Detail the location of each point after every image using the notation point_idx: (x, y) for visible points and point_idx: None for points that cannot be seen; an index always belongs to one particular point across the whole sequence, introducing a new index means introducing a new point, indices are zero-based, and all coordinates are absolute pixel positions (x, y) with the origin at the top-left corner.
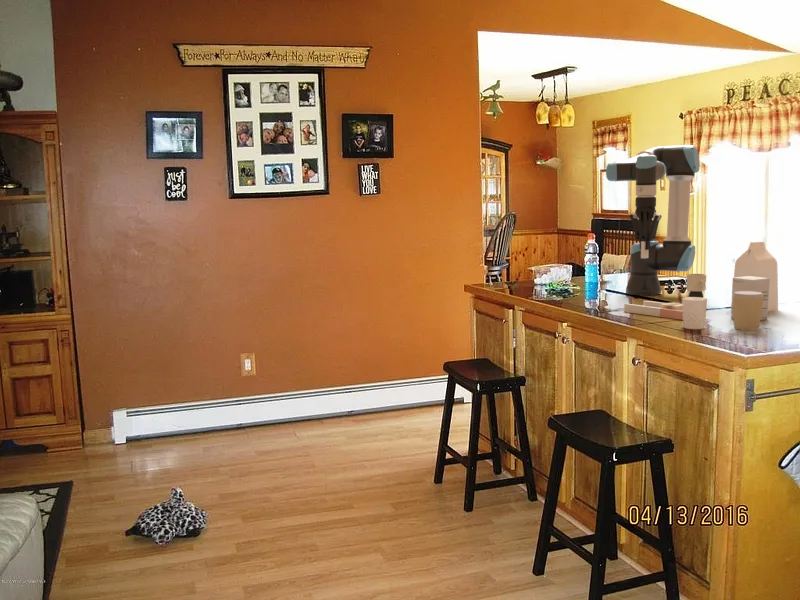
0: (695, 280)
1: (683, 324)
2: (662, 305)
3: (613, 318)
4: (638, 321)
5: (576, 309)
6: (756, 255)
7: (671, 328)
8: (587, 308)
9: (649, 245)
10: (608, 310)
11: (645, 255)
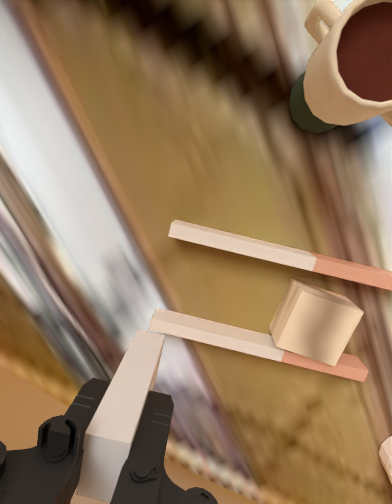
0: (378, 113)
1: (385, 470)
2: (282, 346)
3: (181, 424)
4: (253, 434)
5: (26, 346)
6: None
7: (356, 479)
8: (38, 315)
9: (167, 437)
10: (105, 318)
11: (154, 378)
